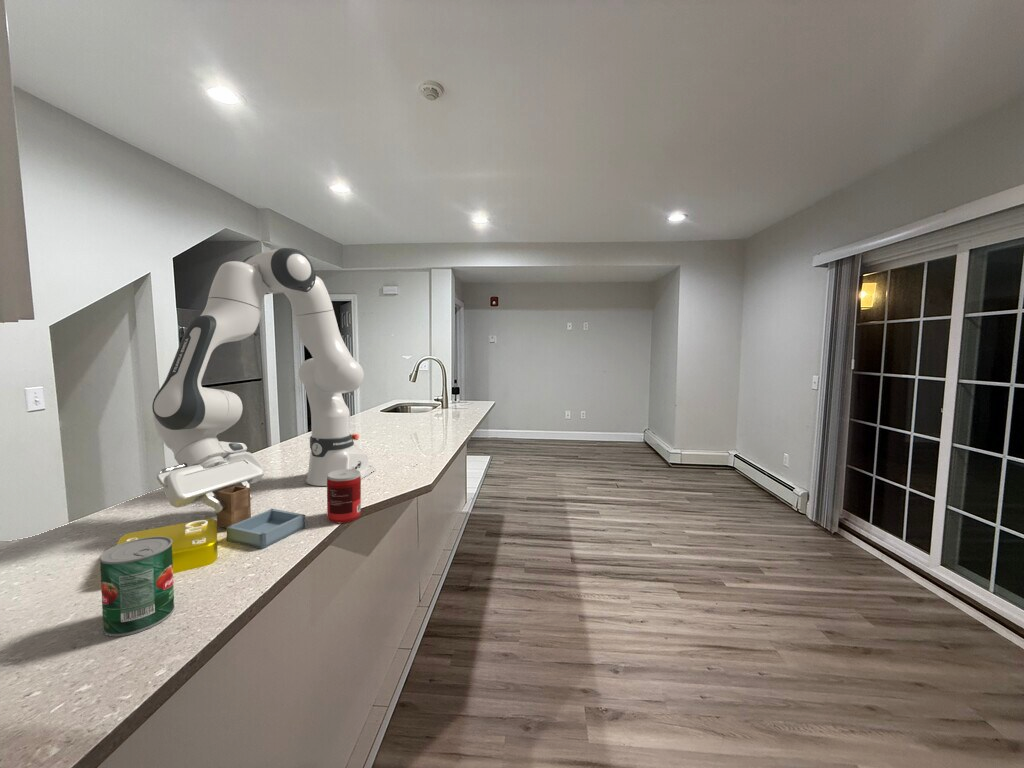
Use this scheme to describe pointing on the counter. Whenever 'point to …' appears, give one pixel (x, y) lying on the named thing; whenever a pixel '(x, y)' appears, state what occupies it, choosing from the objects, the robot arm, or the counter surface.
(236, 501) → the walnut tube
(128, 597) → the canned tomato
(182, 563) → the element tile
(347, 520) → the canned food
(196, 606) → the counter surface
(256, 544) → the slate tray
